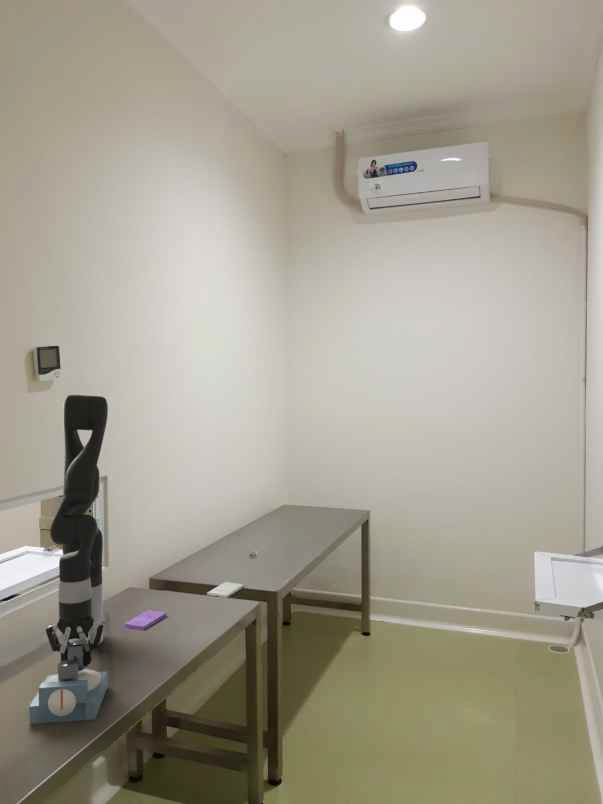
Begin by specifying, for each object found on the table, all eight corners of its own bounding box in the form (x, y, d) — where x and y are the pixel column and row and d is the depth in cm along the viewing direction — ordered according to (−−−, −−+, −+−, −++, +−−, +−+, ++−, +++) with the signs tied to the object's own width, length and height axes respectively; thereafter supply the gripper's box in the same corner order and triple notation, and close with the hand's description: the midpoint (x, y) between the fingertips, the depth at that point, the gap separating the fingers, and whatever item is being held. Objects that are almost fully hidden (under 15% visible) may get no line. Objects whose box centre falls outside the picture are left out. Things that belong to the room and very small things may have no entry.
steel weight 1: (69, 664, 154) (68, 640, 154) (87, 663, 155) (87, 639, 154) (64, 672, 150) (64, 648, 149) (83, 671, 150) (83, 646, 150)
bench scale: (49, 689, 154) (49, 657, 154) (108, 685, 156) (107, 653, 155) (29, 725, 138) (28, 689, 137) (94, 720, 139) (94, 685, 139)
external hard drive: (243, 588, 231) (226, 599, 219) (224, 586, 234) (206, 596, 222) (243, 584, 231) (226, 594, 219) (224, 581, 234) (206, 591, 222)
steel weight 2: (60, 685, 146) (60, 660, 146) (80, 684, 147) (79, 659, 147) (55, 694, 142) (55, 668, 142) (75, 693, 142) (75, 667, 142)
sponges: (124, 628, 193) (124, 622, 193) (148, 614, 205) (148, 609, 205) (143, 632, 190) (143, 626, 190) (166, 617, 202) (166, 611, 202)
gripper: (108, 590, 156) (109, 657, 157) (49, 592, 154) (50, 661, 155) (102, 600, 149) (103, 671, 149) (40, 603, 147) (41, 675, 147)
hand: (76, 665), depth 152 cm, fingers closed on steel weight 1, 4 cm apart
